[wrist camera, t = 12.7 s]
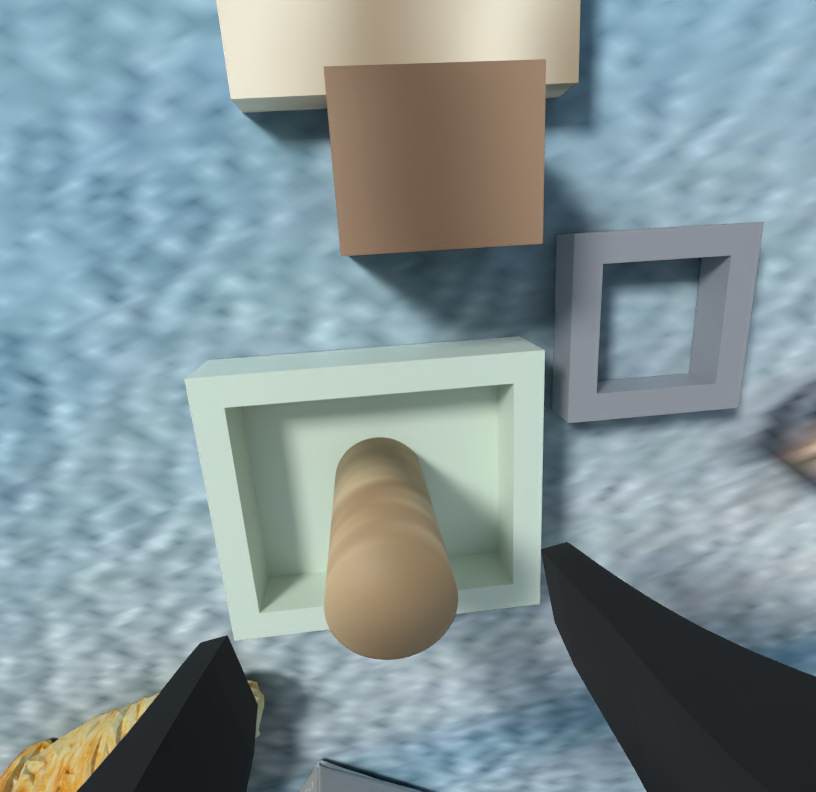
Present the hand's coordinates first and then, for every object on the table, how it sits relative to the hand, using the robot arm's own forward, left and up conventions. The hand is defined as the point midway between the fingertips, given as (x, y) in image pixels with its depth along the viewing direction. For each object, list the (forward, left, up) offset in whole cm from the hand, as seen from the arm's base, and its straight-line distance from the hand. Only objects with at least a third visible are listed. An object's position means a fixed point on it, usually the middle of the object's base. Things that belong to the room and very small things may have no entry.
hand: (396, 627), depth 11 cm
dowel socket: (-10, -5, -8) cm, 14 cm away
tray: (0, 0, -8) cm, 8 cm away
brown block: (-2, -10, -8) cm, 13 cm away
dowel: (0, 0, -8) cm, 8 cm away
